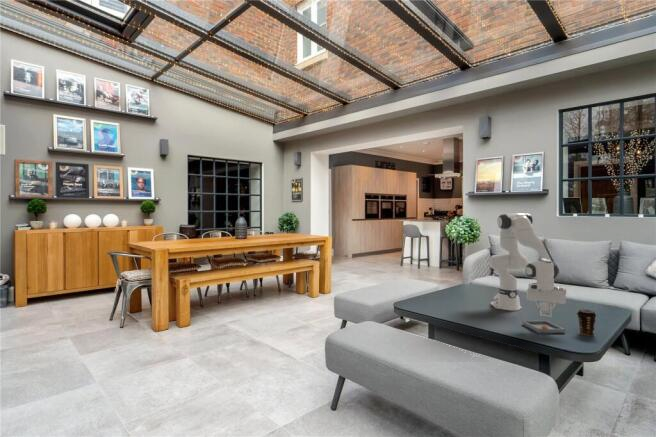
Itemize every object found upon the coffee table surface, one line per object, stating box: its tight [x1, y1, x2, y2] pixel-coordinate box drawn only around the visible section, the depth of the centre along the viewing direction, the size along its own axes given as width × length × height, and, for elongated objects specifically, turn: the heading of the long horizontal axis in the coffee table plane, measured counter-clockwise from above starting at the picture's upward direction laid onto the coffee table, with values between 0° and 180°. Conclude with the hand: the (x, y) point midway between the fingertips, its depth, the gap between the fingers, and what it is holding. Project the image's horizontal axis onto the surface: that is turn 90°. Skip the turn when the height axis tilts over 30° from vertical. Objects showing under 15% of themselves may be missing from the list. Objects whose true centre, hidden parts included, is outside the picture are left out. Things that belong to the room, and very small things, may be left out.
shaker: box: [539, 302, 552, 318], centre depth 206 cm, size 6×5×8 cm
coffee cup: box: [576, 309, 597, 336], centre depth 197 cm, size 9×8×13 cm
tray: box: [522, 320, 566, 335], centre depth 205 cm, size 16×15×2 cm
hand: (545, 309), depth 206 cm, fingers closed on shaker, 5 cm apart
